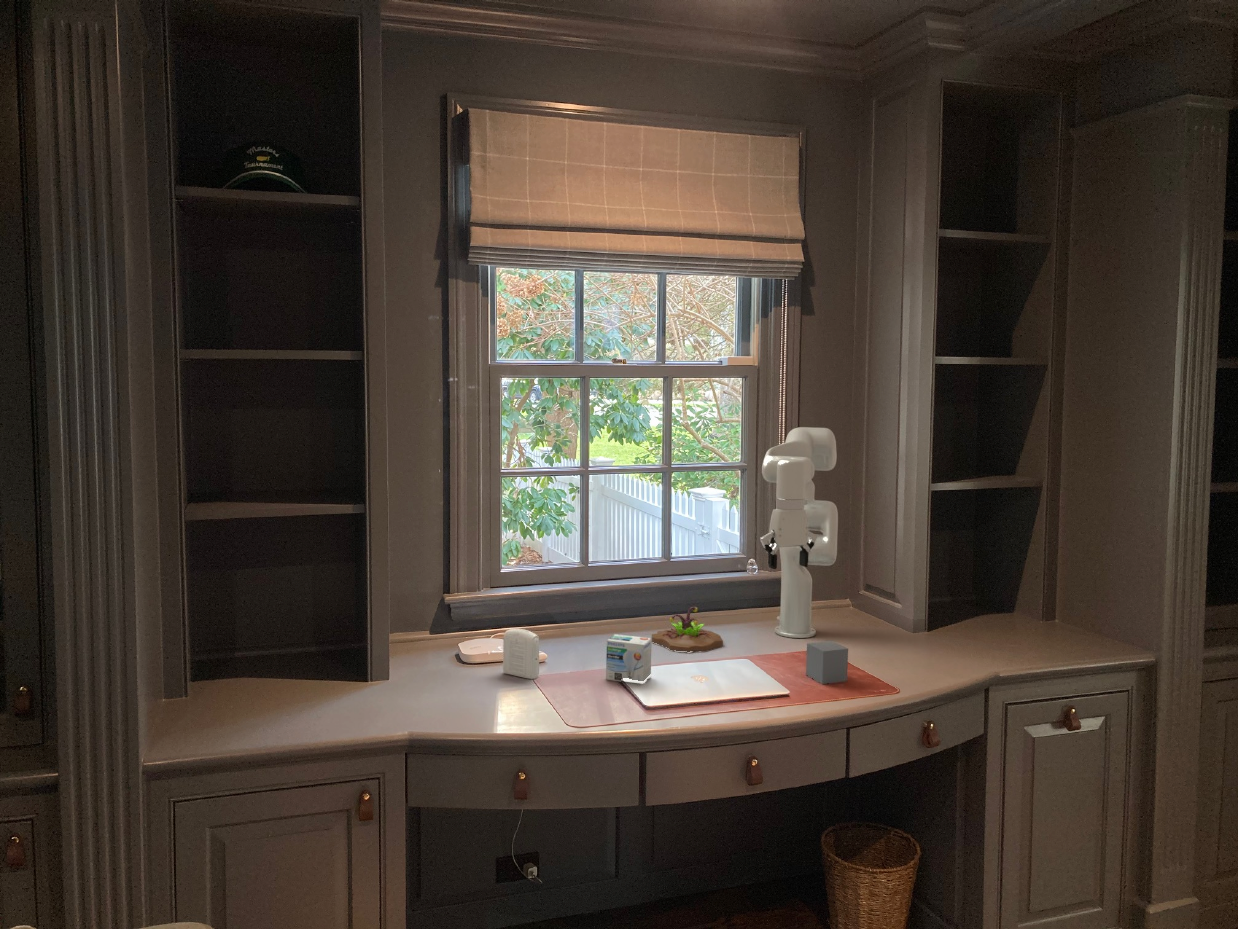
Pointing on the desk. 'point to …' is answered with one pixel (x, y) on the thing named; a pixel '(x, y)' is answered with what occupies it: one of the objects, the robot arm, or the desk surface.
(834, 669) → the matte gray cube
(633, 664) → the light bulb box
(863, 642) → the desk surface
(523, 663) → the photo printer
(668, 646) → the plant
